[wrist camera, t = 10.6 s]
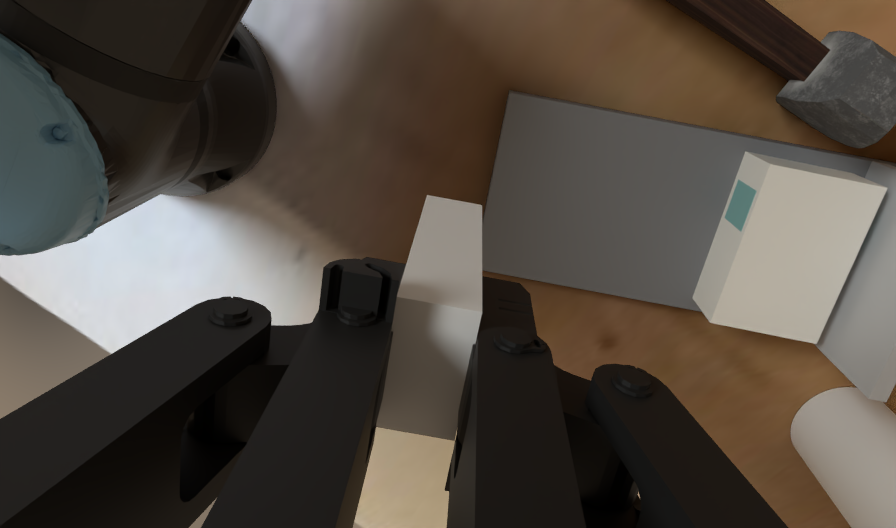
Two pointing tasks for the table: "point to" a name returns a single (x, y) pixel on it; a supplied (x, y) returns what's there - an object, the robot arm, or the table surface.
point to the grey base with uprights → (664, 217)
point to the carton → (785, 246)
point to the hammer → (811, 68)
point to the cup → (851, 453)
